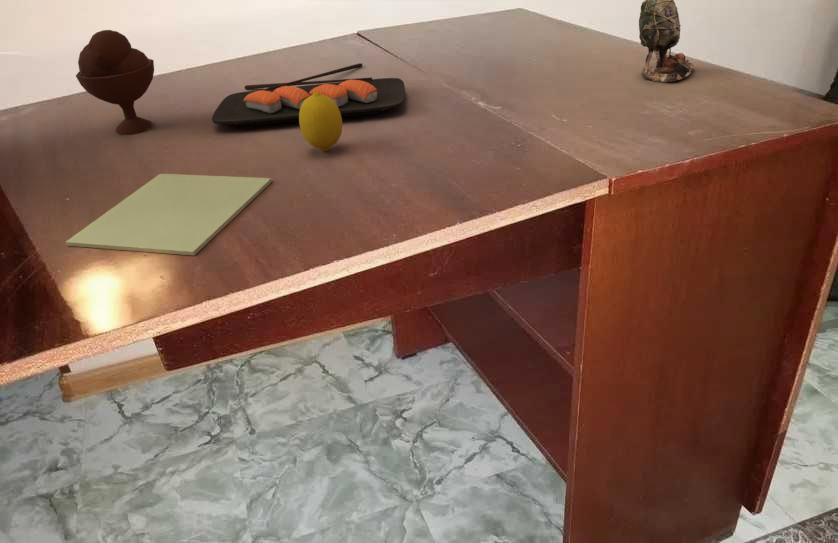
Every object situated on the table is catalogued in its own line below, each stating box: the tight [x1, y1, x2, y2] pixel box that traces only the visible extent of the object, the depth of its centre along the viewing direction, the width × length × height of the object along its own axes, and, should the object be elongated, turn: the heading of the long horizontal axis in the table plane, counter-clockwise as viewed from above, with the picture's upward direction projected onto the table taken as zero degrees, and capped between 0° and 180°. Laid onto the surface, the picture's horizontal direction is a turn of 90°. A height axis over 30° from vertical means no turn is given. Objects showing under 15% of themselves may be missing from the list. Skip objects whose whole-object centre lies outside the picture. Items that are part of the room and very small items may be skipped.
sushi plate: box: [211, 62, 406, 127], centre depth 114 cm, size 29×30×4 cm
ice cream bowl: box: [75, 29, 155, 136], centre depth 104 cm, size 11×11×15 cm
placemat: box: [65, 173, 273, 257], centre depth 81 cm, size 16×18×1 cm
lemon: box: [298, 92, 343, 152], centre depth 91 cm, size 6×6×8 cm
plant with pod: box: [638, 0, 695, 83], centre depth 103 cm, size 8×11×20 cm
